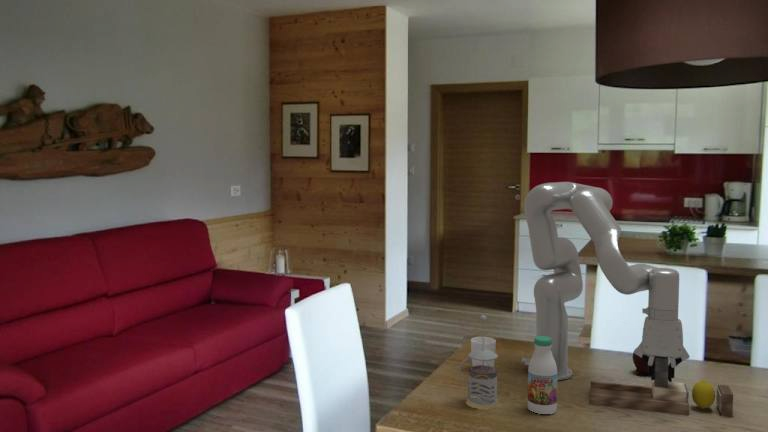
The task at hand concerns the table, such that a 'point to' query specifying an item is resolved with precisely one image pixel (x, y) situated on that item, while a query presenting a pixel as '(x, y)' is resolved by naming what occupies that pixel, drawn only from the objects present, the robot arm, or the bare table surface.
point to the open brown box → (724, 400)
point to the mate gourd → (641, 364)
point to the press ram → (667, 384)
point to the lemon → (703, 394)
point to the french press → (482, 370)
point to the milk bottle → (542, 378)
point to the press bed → (632, 398)
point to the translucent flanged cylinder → (478, 344)
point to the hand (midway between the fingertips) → (661, 378)
